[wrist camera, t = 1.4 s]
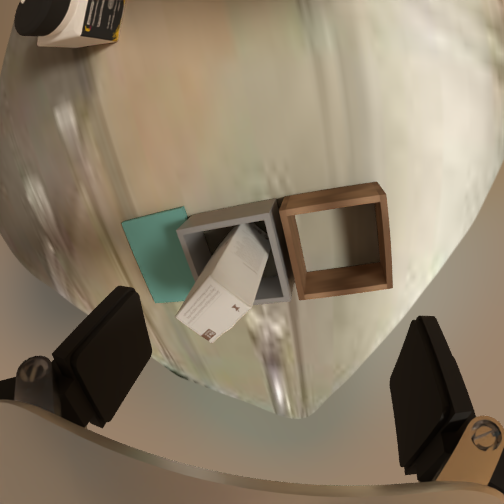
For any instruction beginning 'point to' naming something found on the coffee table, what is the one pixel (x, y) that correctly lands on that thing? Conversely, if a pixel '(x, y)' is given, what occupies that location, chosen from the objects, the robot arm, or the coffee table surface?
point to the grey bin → (264, 210)
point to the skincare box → (227, 283)
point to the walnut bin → (345, 277)
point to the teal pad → (161, 254)
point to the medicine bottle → (70, 21)
